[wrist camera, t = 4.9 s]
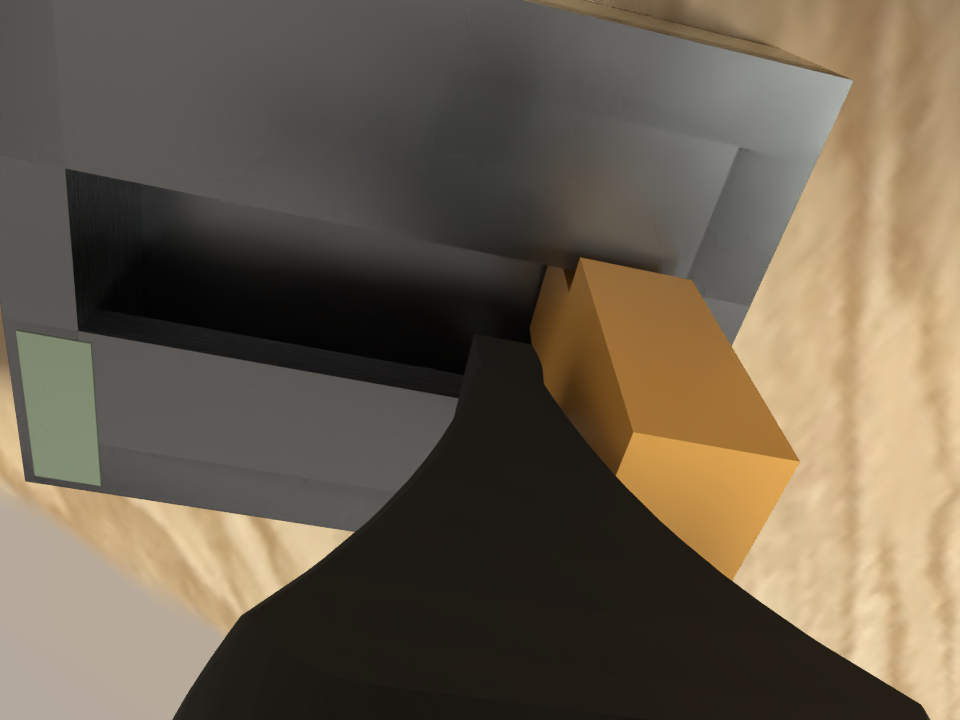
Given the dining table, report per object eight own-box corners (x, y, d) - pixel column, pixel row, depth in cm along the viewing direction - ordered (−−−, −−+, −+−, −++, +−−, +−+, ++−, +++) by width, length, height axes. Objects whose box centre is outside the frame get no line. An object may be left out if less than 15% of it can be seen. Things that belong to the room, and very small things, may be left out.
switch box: (605, 478, 18) (627, 574, 15) (96, 393, 16) (25, 481, 14) (777, 48, 13) (854, 80, 10) (60, -129, 11) (-63, -143, 9)
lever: (597, 375, 15) (677, 676, 9) (515, 359, 15) (541, 658, 9) (654, 216, 14) (800, 460, 7) (561, 197, 13) (633, 432, 7)
